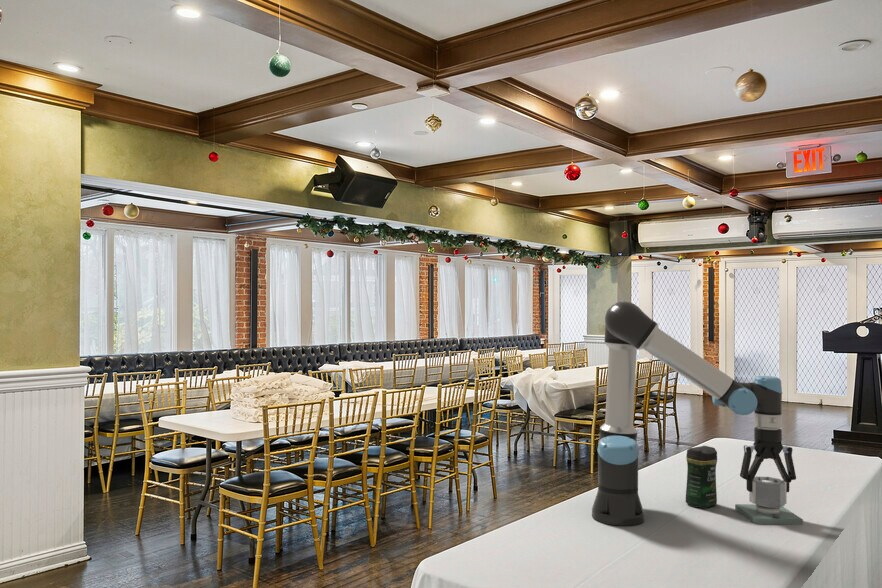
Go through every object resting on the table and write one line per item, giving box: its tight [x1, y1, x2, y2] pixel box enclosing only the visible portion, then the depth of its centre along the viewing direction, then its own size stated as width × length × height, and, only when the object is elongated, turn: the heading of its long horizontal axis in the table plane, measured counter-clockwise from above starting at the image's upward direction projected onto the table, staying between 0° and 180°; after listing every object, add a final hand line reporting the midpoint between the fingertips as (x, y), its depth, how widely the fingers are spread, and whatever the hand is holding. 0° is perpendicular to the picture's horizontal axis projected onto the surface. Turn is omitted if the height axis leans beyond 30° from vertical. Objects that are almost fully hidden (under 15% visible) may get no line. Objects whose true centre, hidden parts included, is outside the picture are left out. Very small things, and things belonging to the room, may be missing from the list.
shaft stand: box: [734, 480, 804, 525], centre depth 206 cm, size 14×14×10 cm
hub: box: [753, 476, 786, 508], centre depth 206 cm, size 8×8×7 cm
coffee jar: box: [685, 445, 718, 509], centre depth 217 cm, size 10×8×19 cm
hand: (767, 502), depth 206 cm, fingers closed on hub, 8 cm apart
